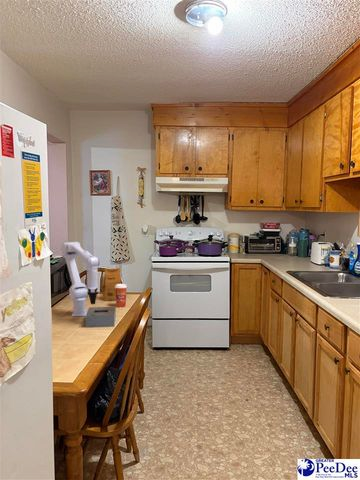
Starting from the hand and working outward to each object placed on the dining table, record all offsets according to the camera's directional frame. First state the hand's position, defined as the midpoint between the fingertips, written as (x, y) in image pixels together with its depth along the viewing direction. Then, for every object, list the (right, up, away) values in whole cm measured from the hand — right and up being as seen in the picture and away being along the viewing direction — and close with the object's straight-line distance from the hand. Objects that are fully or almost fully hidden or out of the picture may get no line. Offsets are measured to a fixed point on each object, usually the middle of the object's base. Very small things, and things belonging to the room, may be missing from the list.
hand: (92, 302), depth 197 cm
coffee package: (+1, -7, +48) cm, 48 cm away
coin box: (+5, -11, -1) cm, 12 cm away
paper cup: (+11, -8, +31) cm, 34 cm away
